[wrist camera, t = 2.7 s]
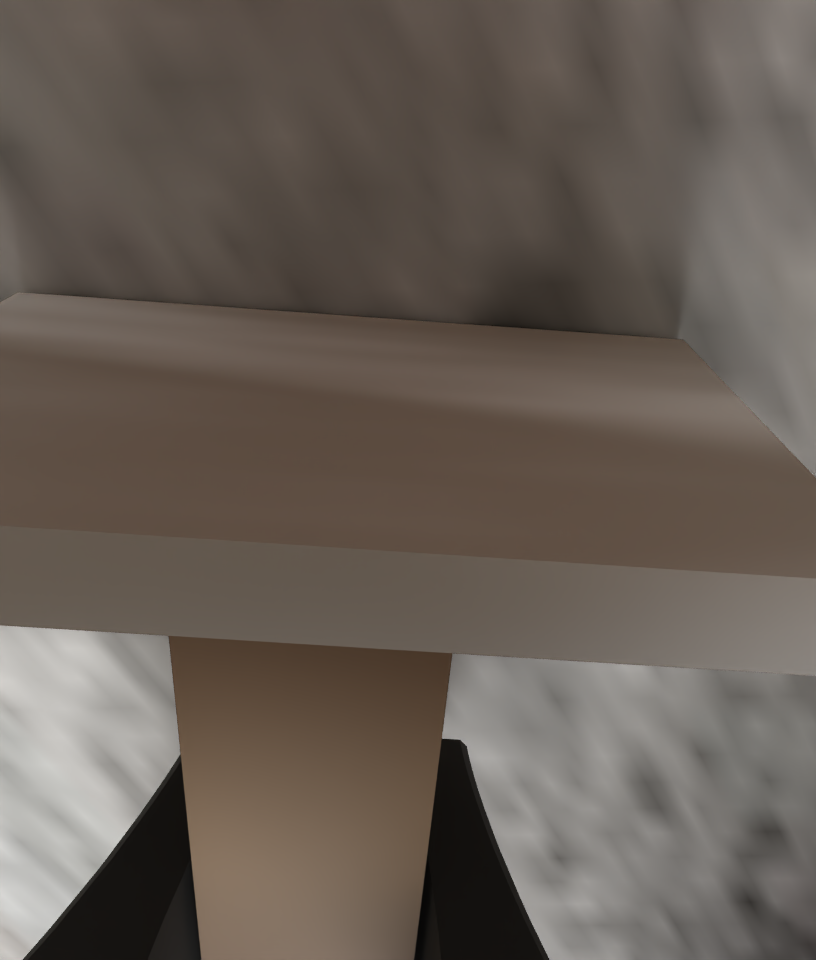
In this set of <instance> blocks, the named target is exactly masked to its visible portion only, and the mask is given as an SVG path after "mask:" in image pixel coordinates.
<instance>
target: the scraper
mask: <svg viewBox="0 0 816 960" xmlns="http://www.w3.org/2000/svg"><path fill="white" fill-rule="evenodd" d="M0 625H4V626H21V627H37V628H53V629H69V630H85V631H101V632H117V633H133V634H149V635H165V636H169V644H170V654H171V663H172V673H173V683H174V693H175V703H176V713H177V723H178V733H179V742H180V752H181V762H182V772H183V782H184V792H185V802H186V812H187V821H188V831H189V841H190V851H191V861H192V871H193V881H194V891H195V900H196V910H197V920H198V930H199V940H200V950H201V960H414V956H415V948H416V940H417V932H418V924H419V916H420V908H421V900H422V892H423V884H424V876H425V868H426V860H427V852H428V844H429V836H430V828H431V820H432V812H433V804H434V796H435V788H436V780H437V772H438V764H439V756H440V748H441V740H442V732H443V724H444V716H445V708H446V700H447V692H448V683H449V675H450V667H451V659H452V653H455V654H471V655H487V656H503V657H519V658H535V659H552V660H568V661H584V662H600V663H616V664H632V665H648V666H664V667H680V668H696V669H712V670H729V671H745V672H761V673H777V674H793V675H809V676H816V478H815V477H814V476H813V475H812V473H811V472H810V471H809V470H808V469H807V468H806V467H805V466H804V465H803V464H802V463H801V462H800V461H799V460H798V459H797V458H796V457H795V456H794V455H793V454H792V453H791V452H790V451H789V450H788V448H787V447H786V446H785V445H784V444H783V443H782V442H781V441H780V440H779V439H778V438H777V437H776V436H775V435H774V434H773V433H772V432H771V431H770V430H769V429H768V428H767V427H766V426H765V425H764V423H763V422H762V421H761V420H760V419H759V418H758V417H757V416H756V415H755V414H754V413H753V412H752V411H751V410H750V409H749V408H748V407H747V406H746V405H745V404H744V403H743V402H742V401H741V399H740V398H739V397H738V396H737V395H736V394H735V393H734V392H733V391H732V390H731V389H730V388H729V387H728V386H727V385H726V384H725V383H724V382H723V381H722V380H721V379H720V378H719V377H718V376H717V374H716V373H715V372H714V371H713V370H712V369H711V368H710V367H709V366H708V365H707V364H706V363H705V362H704V361H703V360H702V359H701V358H700V357H699V356H698V355H697V354H696V353H695V352H694V351H693V349H692V348H691V347H690V346H689V345H688V344H687V343H686V342H685V341H684V340H681V339H667V338H653V337H639V336H625V335H611V334H597V333H583V332H569V331H555V330H541V329H527V328H513V327H499V326H485V325H471V324H457V323H443V322H428V321H414V320H400V319H386V318H372V317H358V316H344V315H330V314H316V313H302V312H288V311H274V310H260V309H246V308H232V307H218V306H204V305H190V304H176V303H162V302H148V301H134V300H120V299H106V298H92V297H78V296H64V295H50V294H36V293H22V292H17V293H16V294H14V295H12V296H10V297H9V298H7V299H5V300H3V301H1V302H0Z"/></svg>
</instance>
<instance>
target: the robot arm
mask: <svg viewBox="0 0 816 960" xmlns="http://www.w3.org/2000/svg"><path fill="white" fill-rule="evenodd" d="M23 960H201V950H200V940H199V930H198V920H197V910H196V900H195V891H194V881H193V871H192V861H191V851H190V841H189V831H188V821H187V812H186V802H185V792H184V782H183V772H182V762H181V754H180V756H179V757H178V759H177V761H176V762H175V764H174V765H173V767H172V768H171V770H170V771H169V773H168V774H167V776H166V777H165V779H164V780H163V782H162V783H161V785H160V786H159V788H158V789H157V791H156V792H155V793H154V795H153V796H152V798H151V799H150V801H149V802H148V803H147V805H146V806H145V808H144V809H143V811H142V812H141V813H140V815H139V816H138V817H137V819H136V820H135V821H134V823H133V824H132V825H131V827H130V828H129V830H128V831H127V832H126V834H125V835H124V836H123V838H122V839H121V840H120V842H119V843H118V844H117V846H116V847H115V848H114V850H113V851H112V852H111V854H110V855H109V856H108V858H107V859H106V860H105V862H104V863H103V864H102V865H101V867H100V868H99V869H98V871H97V872H96V873H95V874H94V876H93V877H92V878H91V879H90V880H89V882H88V883H87V884H86V885H85V886H84V888H83V889H82V890H81V891H80V893H79V894H78V895H77V896H76V897H75V899H74V900H73V901H72V902H71V904H70V905H69V906H68V907H67V908H66V910H65V911H64V912H63V913H62V915H61V916H60V917H59V918H58V919H57V921H56V922H55V923H54V924H53V925H52V927H51V928H50V929H49V930H48V931H47V932H46V934H45V935H44V936H43V937H42V938H41V939H40V940H39V942H38V943H37V944H36V945H35V946H34V947H33V948H32V950H31V951H30V952H29V953H28V954H27V955H26V956H25V958H24V959H23ZM414 960H549V958H548V956H547V954H546V952H545V950H544V948H543V945H542V943H541V941H540V939H539V937H538V935H537V933H536V931H535V929H534V927H533V925H532V923H531V921H530V919H529V916H528V914H527V912H526V910H525V908H524V905H523V903H522V901H521V899H520V897H519V894H518V892H517V890H516V887H515V885H514V882H513V880H512V878H511V875H510V873H509V871H508V868H507V866H506V864H505V861H504V859H503V856H502V854H501V852H500V849H499V847H498V844H497V842H496V839H495V836H494V834H493V831H492V829H491V826H490V823H489V820H488V817H487V815H486V812H485V809H484V806H483V803H482V800H481V797H480V794H479V791H478V788H477V785H476V781H475V778H474V775H473V771H472V767H471V763H470V760H469V755H468V751H467V746H466V745H465V744H464V743H463V742H462V741H461V740H453V739H442V740H441V748H440V756H439V764H438V772H437V780H436V788H435V796H434V804H433V812H432V820H431V828H430V836H429V844H428V852H427V860H426V868H425V876H424V884H423V892H422V900H421V908H420V916H419V924H418V932H417V940H416V948H415V956H414Z"/></svg>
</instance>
